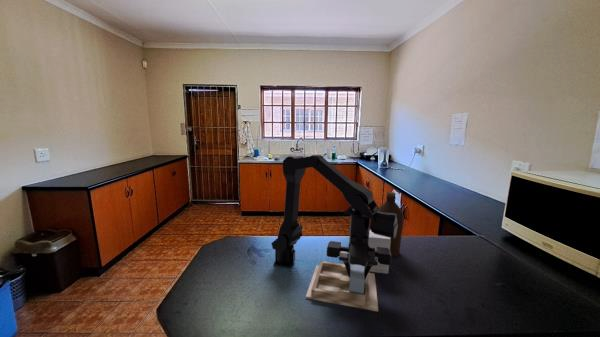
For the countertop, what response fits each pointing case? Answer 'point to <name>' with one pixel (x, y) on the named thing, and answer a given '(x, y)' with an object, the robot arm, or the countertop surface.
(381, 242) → the supplement box
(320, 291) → the divided wooden tray
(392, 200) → the olive oil
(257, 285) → the countertop surface
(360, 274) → the grey rectangular block
